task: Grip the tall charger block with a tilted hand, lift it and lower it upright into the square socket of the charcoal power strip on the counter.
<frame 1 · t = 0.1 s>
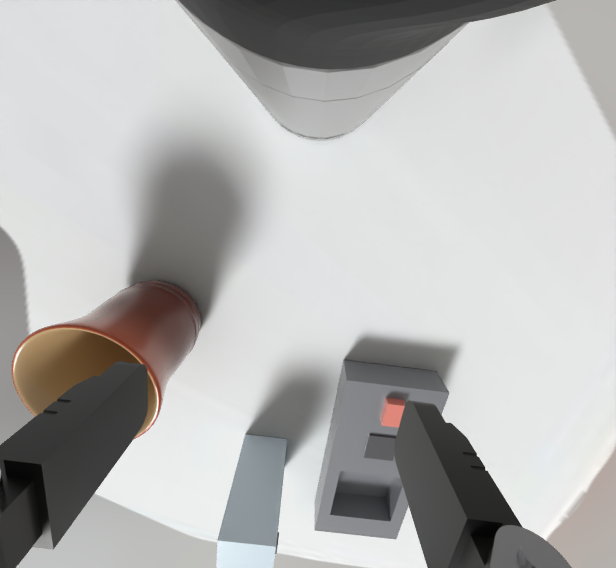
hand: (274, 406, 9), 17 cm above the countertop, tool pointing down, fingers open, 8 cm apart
power strip: (369, 443, 33), on the countertop
mug: (159, 326, 29), on the countertop
charger: (264, 452, 34), on the countertop
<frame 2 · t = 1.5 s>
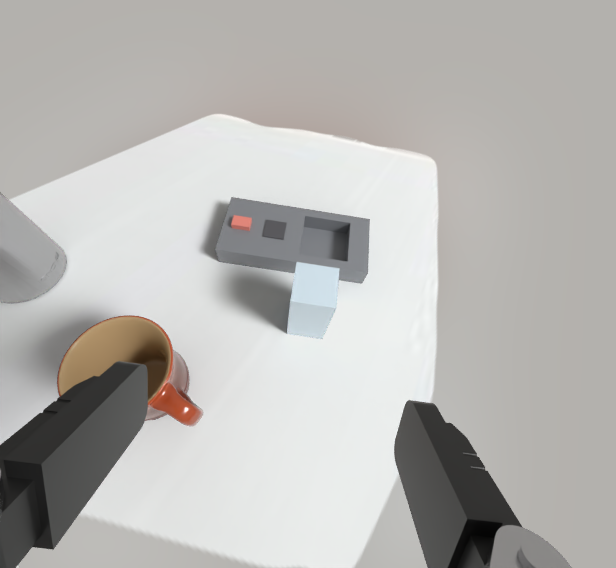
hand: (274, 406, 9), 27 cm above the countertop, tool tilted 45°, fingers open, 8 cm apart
power strip: (295, 245, 45), on the countertop
mug: (170, 393, 34), on the countertop
charger: (306, 319, 40), on the countertop
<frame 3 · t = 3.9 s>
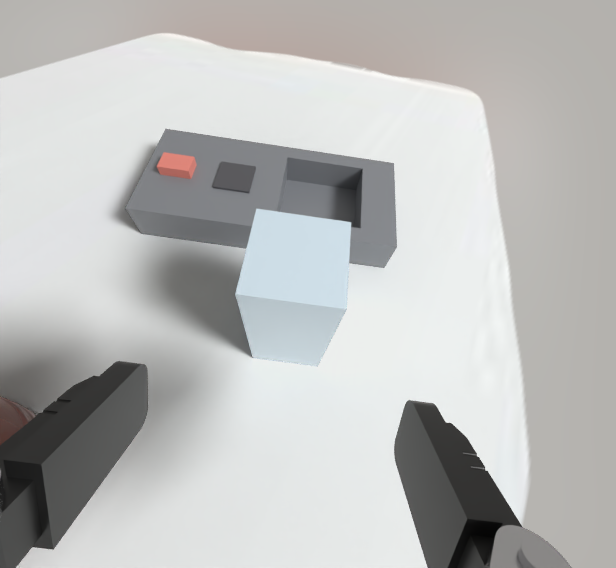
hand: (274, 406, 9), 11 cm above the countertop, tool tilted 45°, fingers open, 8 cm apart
power strip: (273, 208, 27), on the countertop
mug: (7, 489, 17), on the countertop
charger: (289, 331, 22), on the countertop
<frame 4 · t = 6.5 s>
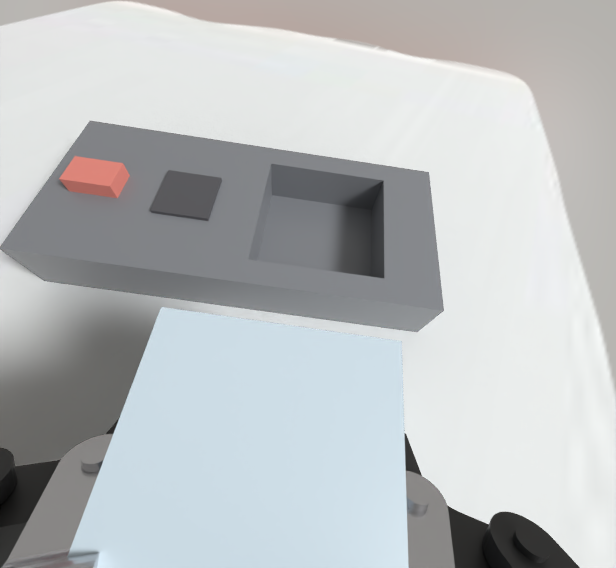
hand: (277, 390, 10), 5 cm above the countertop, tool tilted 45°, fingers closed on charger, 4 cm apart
power strip: (250, 239, 19), on the countertop
charger: (270, 452, 13), on the countertop, touching gripper
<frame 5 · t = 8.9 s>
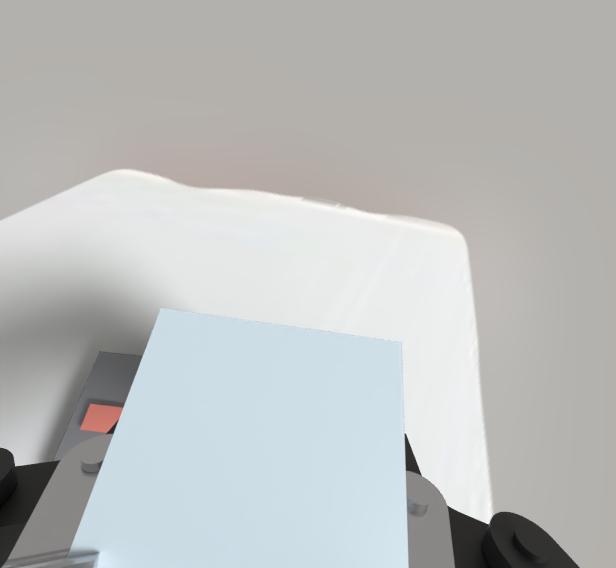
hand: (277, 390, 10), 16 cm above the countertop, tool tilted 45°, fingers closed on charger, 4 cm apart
power strip: (224, 433, 24), on the countertop
charger: (270, 452, 13), point 12 cm above the countertop, touching gripper
when the fingers open (7 cm above the countertop, at t = 11.8 s): charger drops 1 cm, resting on power strip.
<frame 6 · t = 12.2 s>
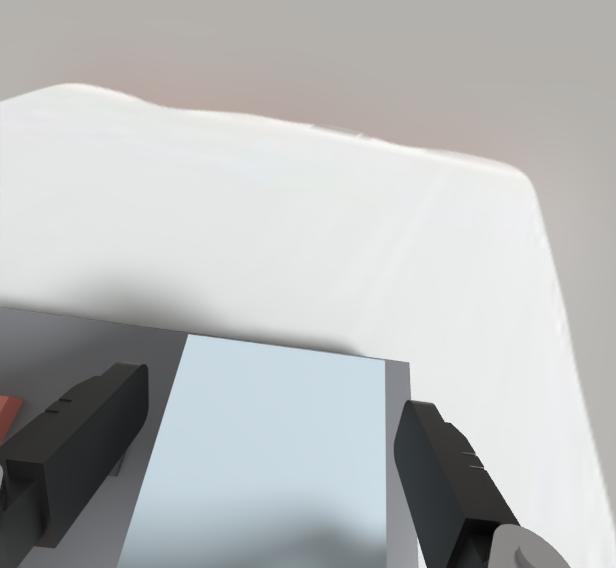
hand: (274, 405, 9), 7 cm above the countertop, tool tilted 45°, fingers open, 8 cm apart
power strip: (189, 441, 15), on the countertop
charger: (274, 452, 15), resting on power strip
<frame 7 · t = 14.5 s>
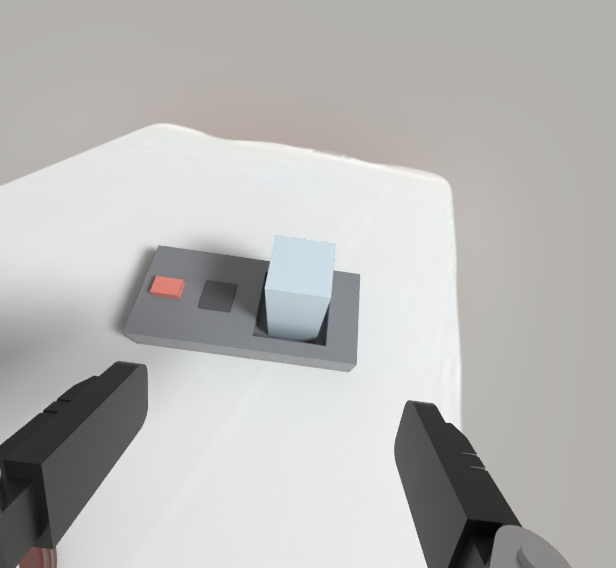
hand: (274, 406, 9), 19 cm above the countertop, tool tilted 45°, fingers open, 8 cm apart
power strip: (253, 313, 31), on the countertop
charger: (294, 317, 31), resting on power strip
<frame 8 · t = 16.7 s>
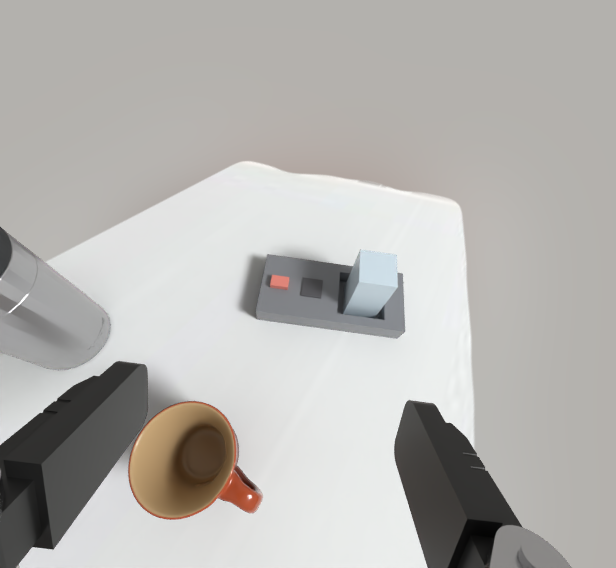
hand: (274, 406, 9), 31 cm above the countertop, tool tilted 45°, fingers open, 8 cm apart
power strip: (330, 300, 45), on the countertop
mug: (219, 461, 35), on the countertop
charger: (358, 302, 45), resting on power strip
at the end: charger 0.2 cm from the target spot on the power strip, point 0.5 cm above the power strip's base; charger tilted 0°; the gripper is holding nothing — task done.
